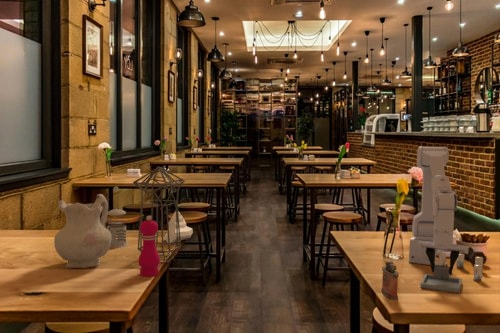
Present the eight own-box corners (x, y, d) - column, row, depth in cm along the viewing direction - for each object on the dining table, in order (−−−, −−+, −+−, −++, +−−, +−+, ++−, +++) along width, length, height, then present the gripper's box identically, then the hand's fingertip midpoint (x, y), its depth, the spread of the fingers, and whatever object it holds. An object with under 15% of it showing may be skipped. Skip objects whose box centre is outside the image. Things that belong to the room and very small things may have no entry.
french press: (133, 244, 197) (132, 186, 196) (112, 249, 188) (111, 188, 186) (117, 241, 203) (117, 184, 201) (96, 246, 193) (95, 187, 191)
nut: (433, 278, 145) (433, 267, 145) (435, 274, 150) (435, 263, 149) (448, 281, 143) (448, 269, 143) (449, 276, 148) (450, 265, 147)
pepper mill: (164, 272, 159) (163, 214, 157) (153, 278, 152) (152, 218, 150) (145, 269, 161) (145, 213, 160) (134, 275, 154) (133, 216, 153)
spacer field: (434, 275, 157) (434, 260, 157) (439, 264, 170) (439, 251, 170) (481, 281, 150) (482, 266, 150) (482, 270, 164) (483, 256, 163)
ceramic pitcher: (80, 256, 181) (74, 193, 179) (126, 256, 177) (120, 191, 175) (45, 273, 160) (38, 202, 158) (96, 273, 156) (89, 200, 154)
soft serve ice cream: (156, 246, 201) (152, 213, 203) (179, 242, 213) (175, 212, 215) (176, 242, 194) (172, 209, 196) (200, 239, 206) (195, 207, 208)
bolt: (465, 259, 184) (480, 269, 169) (454, 253, 184) (468, 262, 169) (473, 247, 184) (489, 256, 169) (461, 240, 184) (477, 249, 169)
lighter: (379, 290, 142) (380, 258, 141) (389, 290, 142) (390, 258, 141) (389, 300, 134) (390, 266, 133) (400, 299, 134) (401, 266, 133)
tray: (420, 287, 144) (420, 283, 144) (425, 278, 154) (425, 273, 154) (459, 293, 139) (459, 288, 139) (461, 283, 149) (461, 278, 149)
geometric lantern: (131, 263, 169) (129, 168, 166) (151, 252, 184) (150, 165, 181) (170, 267, 164) (169, 169, 162) (188, 255, 179) (187, 166, 177)
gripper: (417, 230, 145) (415, 272, 146) (468, 235, 138) (466, 279, 139) (420, 226, 151) (419, 267, 152) (469, 231, 145) (467, 273, 146)
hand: (441, 272), depth 146 cm, fingers closed on nut, 4 cm apart
